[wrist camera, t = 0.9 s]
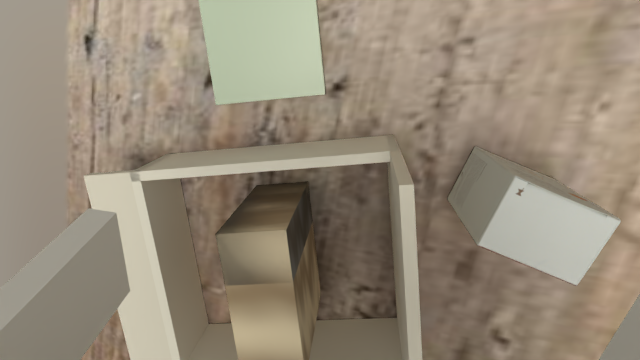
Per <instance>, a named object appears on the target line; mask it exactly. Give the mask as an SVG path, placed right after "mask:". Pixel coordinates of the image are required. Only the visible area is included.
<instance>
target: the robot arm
mask: <svg viewBox="0 0 640 360" xmlns="http://www.w3.org/2000/svg"><path fill="white" fill-rule="evenodd" d="M129 292H130V287H129V281H128V275H127V270H126V264H125V258H124V253H123V247H122V242H121V236H120V230H119V225H118V219H117V213H115V212H109V211H102V210H96V209H89V208H88V209H87V210H86V211H85V212H84V213H83V214H82V215H81V216H79V217H78V218H77V219H76V220H75V221H74V222H73V223H72V224H71V225H70V226H68V227H67V228H66V229H65V230H64V231H63V232H62V233H61V234H60V235H59V236H57V237H56V238H55V239H54V240H53V241H52V242H51V243H50V244H49V245H47V246H46V247H45V248H44V249H43V250H42V251H41V252H40V253H39V254H38V255H37V256H35V257H34V258H33V259H32V260H31V261H30V262H29V263H28V264H27V265H25V266H24V267H23V268H22V269H21V270H20V271H19V272H18V273H17V274H16V275H14V276H13V277H12V278H11V279H10V280H9V281H8V282H7V283H6V284H5V285H4V286H2V287H1V288H0V360H81V358H82V357H83V355H84V354H85V353H86V351H87V350H88V348H89V347H90V346H91V344H92V343H93V342H94V340H95V339H96V337H97V336H98V335H99V333H100V332H101V331H102V329H103V328H104V326H105V325H106V324H107V322H108V321H109V319H110V318H111V317H112V315H113V314H114V313H115V311H116V310H117V308H118V307H119V306H120V304H121V303H122V301H123V300H124V299H125V297H126V296H127V295H128V293H129ZM599 360H640V294H639V296H638V297H637V299H636V301H635V302H634V304H633V306H632V307H631V309H630V310H629V312H628V314H627V315H626V317H625V318H624V320H623V322H622V323H621V325H620V326H619V328H618V330H617V331H616V333H615V334H614V336H613V338H612V339H611V341H610V342H609V344H608V346H607V347H606V349H605V351H604V352H603V354H602V355H601V357H600V359H599Z"/></svg>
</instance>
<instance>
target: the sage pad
mask: <svg viewBox="0 0 640 360" xmlns="http://www.w3.org/2000/svg"><path fill="white" fill-rule="evenodd" d="M199 5H200V12H201V18H202V24H203V30H204V36H205V42H206V48H207V54H208V60H209V66H210V72H211V78H212V84H213V90H214V96H215V102H216V105H221V104H231V103H241V102H252V101H262V100H272V99H282V98H292V97H302V96H313V95H323V94H326V91H325V81H324V71H323V61H322V50H321V40H320V30H319V20H318V10H317V0H199Z"/></svg>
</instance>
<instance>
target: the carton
mask: <svg viewBox="0 0 640 360" xmlns="http://www.w3.org/2000/svg"><path fill="white" fill-rule="evenodd" d="M381 162H387V171H388V186H389V202H390V217H391V233H392V249H393V264H394V280H395V295H396V311H397V318H372V319H342V320H316V324H315V330H314V335H313V341H312V346H311V352H310V357H309V360H422V343H421V322H420V301H419V281H418V260H417V239H416V218H415V197H414V183H413V181H412V178H411V176H410V173H409V171H408V168H407V166H406V163H405V161H404V158H403V156H402V153H401V151H400V148H399V146H398V143H397V140H396V138H395V135H384V136H372V137H360V138H348V139H337V140H325V141H313V142H301V143H290V144H278V145H266V146H254V147H243V148H231V149H219V150H207V151H195V152H184V153H172V154H166V155H164V156H162V157H160V158H158V159H156V160H154V161H152V162H150V163H148V164H146V165H143V166H141V167H139V168H137V169H135V170H126V171H114V172H102V173H90V174H87V175H85V176H84V179H85V183H86V187H87V191H88V195H89V199H90V203H91V207H92V209H96V210H102V211H109V212H115V213H117V219H118V225H119V230H120V236H121V242H122V247H123V253H124V258H125V264H126V270H127V275H128V281H129V287H130V292H129V293H128V295H127V296H126V297H125V299H124V300H123V301H122V303H121V304H120V306H119V307H118V312H119V316H120V320H121V324H122V328H123V332H124V336H125V339H126V343H127V347H128V351H129V355H130V359H131V360H238V356H237V351H236V345H235V340H234V334H233V328H232V323H223V324H209V323H208V318H207V313H206V308H205V303H204V297H203V292H202V287H201V282H200V277H199V272H198V267H197V262H196V257H195V251H194V246H193V241H192V236H191V231H190V226H189V221H188V216H187V211H186V205H185V200H184V195H183V190H182V185H181V180H180V178H187V177H200V176H213V175H226V174H239V173H252V172H265V171H278V170H291V169H304V168H317V167H329V166H342V165H355V164H368V163H381Z"/></svg>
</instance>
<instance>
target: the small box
mask: <svg viewBox="0 0 640 360" xmlns="http://www.w3.org/2000/svg"><path fill="white" fill-rule="evenodd" d="M447 199H448V201H449V203H450V204H451V206H452V207H453V209H454V210H455V212H456V213H457V215H458V216H459V218H460V220H461V221H462V223H463V224H464V226H465V227H466V229H467V231H468V232H469V234H470V235H471V237H472V238H473V240H474V241H475V243H476V244H477V246H480V247H482V248H485V249H487V250H489V251H492V252H494V253H497V254H499V255H502V256H504V257H507V258H509V259H512V260H514V261H517V262H519V263H521V264H524V265H526V266H529V267H531V268H534V269H536V270H539V271H541V272H544V273H546V274H548V275H551V276H553V277H556V278H558V279H560V280H563V281H565V282H568V283H570V284H573V285H575V286H577V285H578V283H579V282H580V281H581V279H582V278H583V276H584V275H585V274H586V272H587V271H588V269H589V268H590V266H591V265H592V263H593V262H594V260H595V259H596V257H597V256H598V254H599V253H600V251H601V250H602V248H603V247H604V246H605V244H606V243H607V241H608V240H609V238H610V237H611V235H612V234H613V232H614V231H615V229H616V228H617V227H618V225H619V224H620V222H621V220H620V219H619V218H618V217H616V216H614V215H613V214H611V213H609V212H608V211H606V210H605V209H603V208H601V207H600V206H598V205H596V204H595V203H593V202H591V201H590V200H588V199H586V198H585V197H583V196H581V195H580V194H578V193H576V192H575V191H573V190H572V189H570V188H568V187H567V186H565V185H563V184H562V183H560V182H559V181H557V180H555V179H553V178H551V177H548V176H546V175H543V174H541V173H539V172H536V171H534V170H531V169H529V168H527V167H524V166H522V165H519V164H517V163H514V162H512V161H510V160H507V159H505V158H502V157H500V156H497V155H495V154H493V153H490V152H488V151H486V150H483V149H481V148H479V147H476V146H475V147H474V149H473V151H472V153H471V155H470V156H469V158H468V160H467V162H466V164H465V166H464V168H463V170H462V172H461V173H460V175H459V177H458V179H457V181H456V183H455V185H454V187H453V189H452V190H451V192H450V194H449V196H448V198H447Z"/></svg>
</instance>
